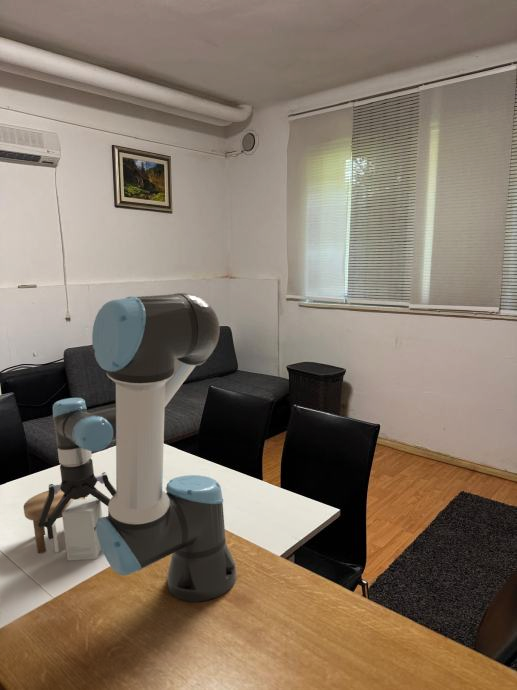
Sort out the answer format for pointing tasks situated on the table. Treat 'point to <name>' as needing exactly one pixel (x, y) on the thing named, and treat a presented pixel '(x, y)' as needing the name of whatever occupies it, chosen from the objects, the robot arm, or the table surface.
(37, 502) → the stool
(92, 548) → the supplement box
